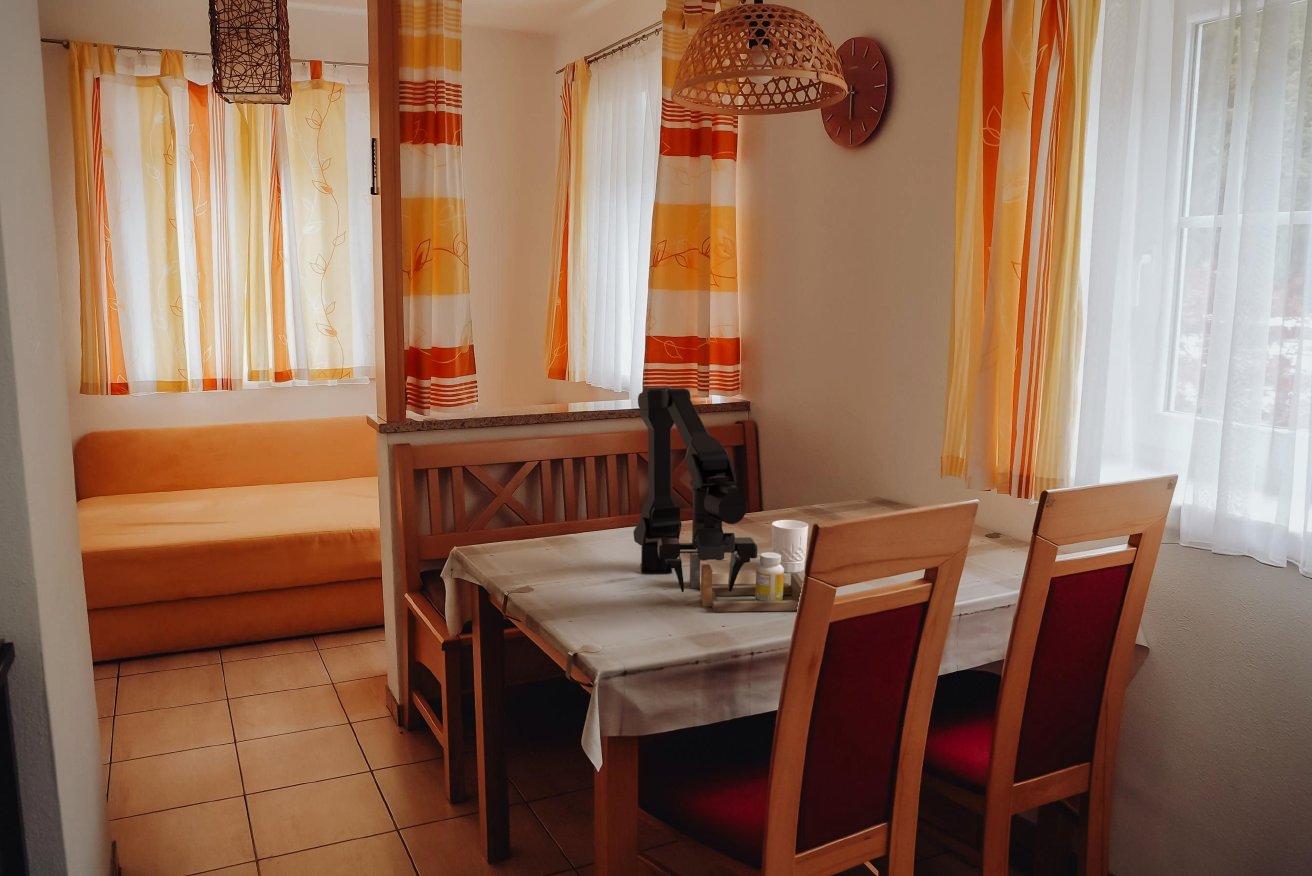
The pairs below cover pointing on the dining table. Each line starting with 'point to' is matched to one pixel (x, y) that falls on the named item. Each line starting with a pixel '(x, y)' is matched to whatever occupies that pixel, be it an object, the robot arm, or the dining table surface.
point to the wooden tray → (719, 606)
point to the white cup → (790, 544)
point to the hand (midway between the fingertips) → (706, 591)
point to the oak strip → (719, 576)
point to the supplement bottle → (769, 578)
